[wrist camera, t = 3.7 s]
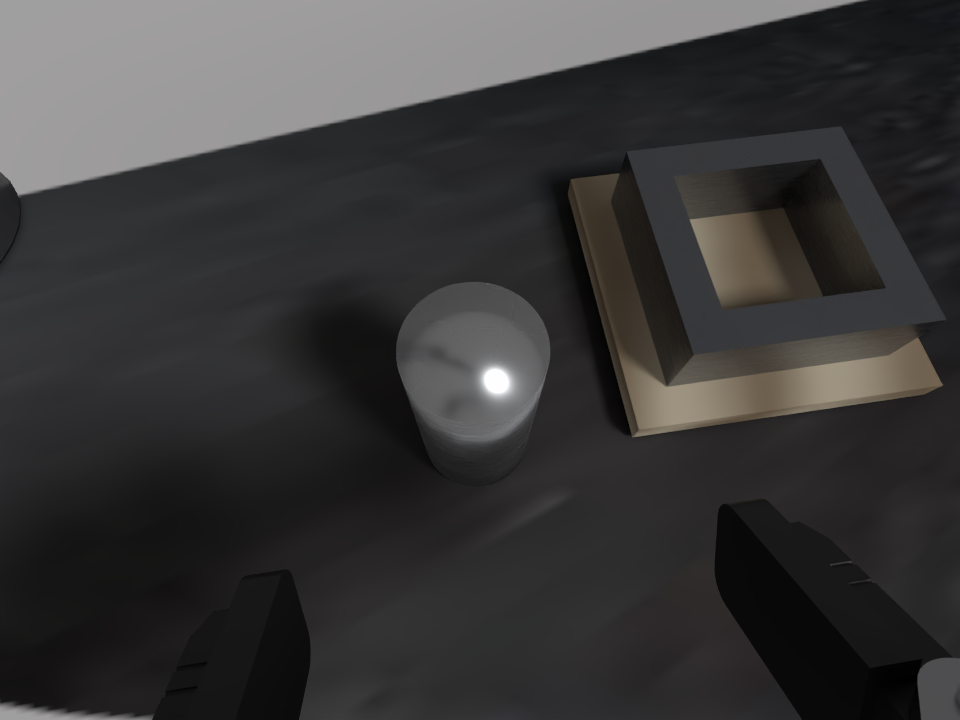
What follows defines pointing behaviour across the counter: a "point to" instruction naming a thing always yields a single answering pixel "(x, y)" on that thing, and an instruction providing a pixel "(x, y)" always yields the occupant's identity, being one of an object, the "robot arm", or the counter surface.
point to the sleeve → (820, 232)
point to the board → (738, 283)
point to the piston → (473, 378)
